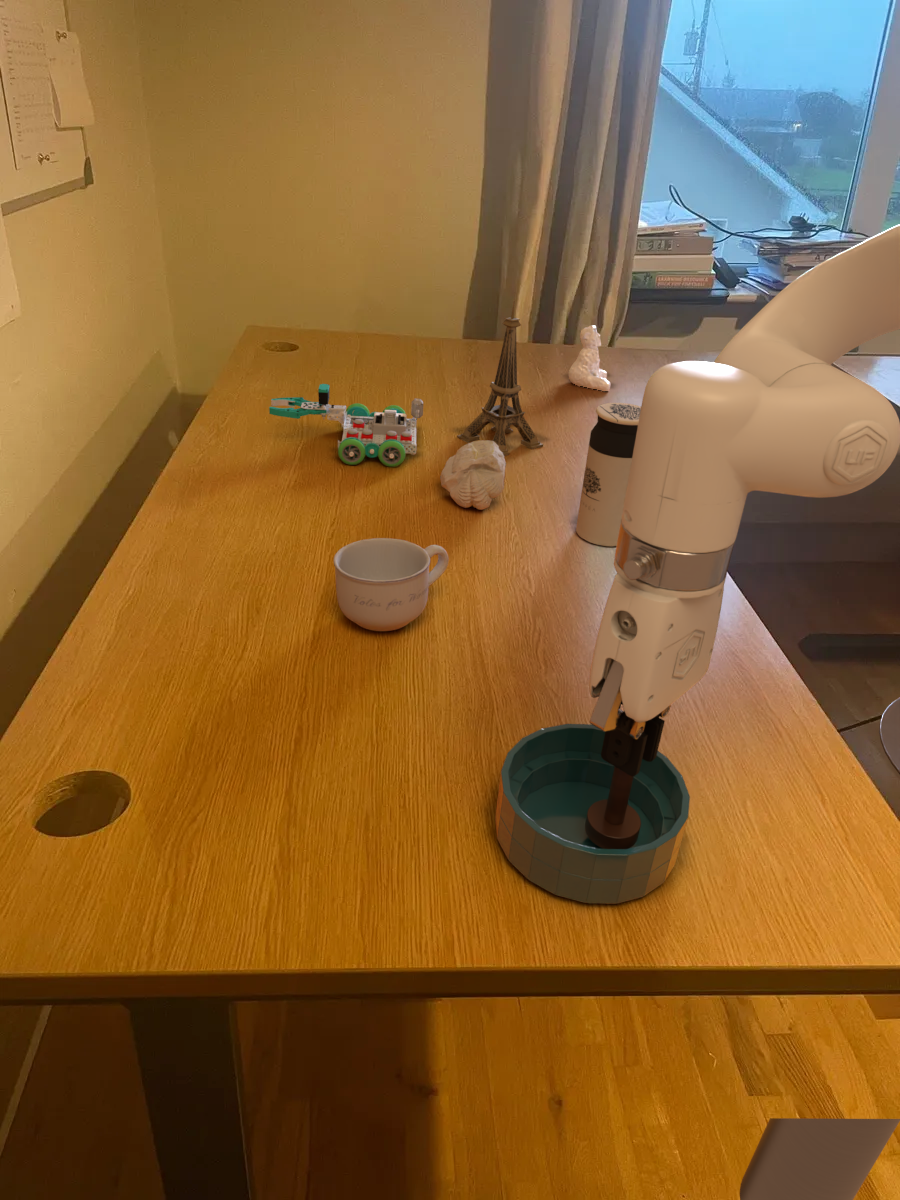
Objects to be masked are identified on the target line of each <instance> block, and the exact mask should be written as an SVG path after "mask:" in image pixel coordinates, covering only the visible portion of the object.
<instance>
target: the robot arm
mask: <svg viewBox="0 0 900 1200" xmlns="http://www.w3.org/2000/svg"><path fill="white" fill-rule="evenodd" d="M899 330H900V224H897V225H895V226H893V227H891V228H888V229H886V230H885V231H882V232H881V233H880V232H879V233H878V234H876V235H873V236H872V237H870V238H867V239H866V240H864V241H862V242H860V243H858V244H856V245H854V246H853V247H850V248H848V249H846V250H843V251H842V252H839V253H838V254H836V255H834V256H831V257H830V258H828V259H826V260H824V261H822V262H821V263H818V264H817V265H815V266H814V267H812V268H811V269H809V270H807V271H805V272H804V273H803V274H801V275H800V276H798V277H797V278H796V279H794V280H793V281H791V282H790V283H789V284H788V285H787V286H785V287H784V288H783V289H782V290H781V291H779V292H778V293H777V294H776V295H775V296H773V298H772V299H770V301H769V302H768V303H766V304H765V305H764V306H763V307H762V308H761V309H760V310H759V311H758V312H757V313H756V314H755V315H754V316H753V317H752V318H751V319H750V320H749V321H747V323H745V325H743V327H742V328H741V329H739V331H738V332H737V333H736V334H735V335H734V336H733V337H732V338H731V339H730V340H729V342H727V344H726V345H725V346H724V348H723V349H722V350H721V351H720V353H719V354H717V357H716V358H715V359H714V361H713V362H710V361H699V360H685V361H678V362H672V363H668V364H665V365H663V366H661V367H659V368H658V369H656V371H654V373H652V375H651V376H650V377H649V379H648V380H647V382H646V385H645V388H644V391H643V396H642V401H641V411H640V417H639V423H638V428H637V434H636V439H635V445H634V451H633V456H632V462H631V467H630V473H629V479H628V484H627V490H626V495H625V501H624V507H623V512H622V519H621V524H620V529H619V535H618V541H617V546H615V553H614V557H613V568H614V570H615V571H616V574H615V575H614V577H613V581H612V583H611V586H610V589H609V593H608V596H607V599H606V602H605V605H604V609H603V612H602V616H601V620H600V624H599V627H598V631H597V636H596V640H595V645H594V649H593V652H592V653H593V654H592V657H591V663H590V671H589V678H588V691H589V694H590V696H591V698H594V699H595V698H597V700H596V703H595V706H594V708H593V710H592V714H591V716H590V719H589V724H592V725H594V726H595V727H597V728H599V729H601V730H602V731H604V732H605V736H604V741H603V746H602V752H601V757H602V758H603V760H605V761H606V762H608V763H610V764H612V765H613V766H615V767H617V768H618V769H620V770H622V771H623V772H625V773H627V774H628V775H630V776H632V777H634V776H635V775H637V774H638V773H639V771H640V767H641V762H642V759H644V760H645V761H648V762H652V761H653V760H654V759H655V758H656V756H657V752H658V751H659V746H660V743H661V738H662V735H663V731H664V726H665V723H666V720H665V719H663V718H665V717H667V716H668V714H669V711H670V710H671V707H672V704H674V703H675V702H676V701H677V700H679V699H680V698H682V696H684V695H685V694H686V693H687V692H688V691H690V690H691V689H692V688H693V687H694V686H695V685H697V684H698V683H699V682H700V681H701V680H702V679H703V677H704V676H705V675H706V674H707V672H708V671H709V668H710V664H711V659H712V655H713V651H714V647H715V641H716V636H717V631H718V626H719V621H720V616H721V610H722V605H723V598H724V591H725V583H726V579H727V575H728V570H729V568H730V567H729V566H730V563H731V558H732V554H733V550H734V547H735V543H736V540H737V537H738V532H739V529H740V525H741V520H742V517H743V513H744V510H745V509H744V508H745V505H746V501H747V497H748V494H749V493H751V492H755V491H757V492H765V493H766V492H767V493H775V494H782V495H789V496H795V497H796V496H798V497H803V498H817V499H822V498H823V499H824V498H836V497H842V496H847V495H850V494H853V493H856V492H858V491H860V490H862V489H864V488H867V487H868V486H870V485H871V484H873V483H874V482H876V481H877V480H878V479H879V478H880V477H881V476H883V475H884V473H886V471H887V470H888V469H889V468H890V466H891V465H892V463H893V462H894V460H895V458H897V457H896V456H897V454H898V452H899V448H900V419H899V416H898V414H897V411H896V409H895V408H894V406H893V405H892V403H891V402H890V400H889V399H887V397H885V395H883V394H882V393H881V392H880V391H879V390H878V389H876V388H875V387H873V386H871V385H870V384H868V383H867V382H864V381H863V380H861V379H859V378H857V377H855V376H853V375H851V374H849V373H847V372H845V371H843V370H840V369H839V368H838V367H836V366H833V365H832V364H833V363H835V362H836V361H837V360H839V359H840V358H841V357H843V356H845V355H846V354H847V353H849V352H850V351H852V350H854V349H855V348H857V347H859V346H861V345H863V344H865V343H867V342H869V341H871V340H875V339H876V338H878V337H880V336H883V335H887V334H889V333H893V332H895V331H899ZM621 707H623V709H621ZM645 722H646V724H645ZM644 727H645V728H644ZM643 731H644V732H643Z"/></svg>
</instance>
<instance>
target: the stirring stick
mask: <svg viewBox="0 0 900 1200" xmlns="http://www.w3.org/2000/svg"><path fill="white" fill-rule="evenodd" d="M645 724H646V722H645ZM644 728H645V727H644ZM643 732H644V731H643ZM632 782H633V777H632V776H630V775H628V774H627V773H625V772H623V771H622V770H620V769H618V768H617V767H614V772H613V777H612V782H611V786H610V791H609V796H608V799H605V800H600V801H597V802H595V803H594V804H592V805H591V806H590V808H589V809H588V812H587V817H586V822H585V831H586V834H587V836H588V837H589V839H590V840H591V841H592V842H593V843H595V844H596V845H597V846H599V847H601V848H604V849H629V848H631V847H632V846H633V845H634V844H635V843H636V842H637V839H638V836H639V831H640V827H641V820H640V817H639V815H638V813H637V812H636V811H635V810H634V809H633V808H632V807H631V806H629V805H628V800H629V795H630V791H631V786H632Z"/></svg>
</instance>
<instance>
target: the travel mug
mask: <svg viewBox="0 0 900 1200" xmlns="http://www.w3.org/2000/svg"><path fill="white" fill-rule="evenodd" d="M641 406H642V405H641ZM641 406H640V405H637V404H633V403H628V402H627V403H625V402H606V403H602V404H600V405H598V406H596V409H595V413H596V415H597V422H596V423H595V425H594V426H593V428H591V430H590V436H589V442H588V448H587V453H586V455H587V456H586V462H585V466H584V467H585V468H584V473H583V480H582V487H581V493H580V501H579V505H578V506H579V507H578V513H577V519H576V525H575V526H576V527H575V532H576V534H577V535H578V536H579V537H580V538H581V539H583V540H585V541H586V542H588V543H590V544H593V545H597V546H601V547H602V546H603V547H616V546H617V541H618V535H619V529H620V524H621V519H622V512H623V507H624V501H625V495H626V490H627V484H628V479H629V473H630V467H631V462H632V456H633V451H634V445H635V439H636V434H637V428H638V423H639V417H640V411H641Z"/></svg>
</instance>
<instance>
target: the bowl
mask: <svg viewBox="0 0 900 1200" xmlns="http://www.w3.org/2000/svg"><path fill="white" fill-rule="evenodd" d="M604 736H605V732H604V731H602V730H601V729H599V728H597V727H595V726H594V725H592V724H590V723H589V724H588V723H563V724H558V725H553V726H547V727H542V728H540V729H538V730H536V731H533V732H531V733H530V734H528V735H526V736H524V737H521V738H520V739H519V740H518V742H516V744H515V745H514V746H513V747H512V748H511V749H509V751H508V752H507V753H506V756H505V758H504V762H503V763H502V764H503V765H502V766H501V767H502V768H501V770H500V776H499V785H498V792H497V801H496V809H495V816H494V821H495V829H496V831H495V833H496V838H497V842H498V843H499V845H500V848H501V849H502V851H503V853H504V854H505V857H506V858H507V860H508V862H509V863H510V864H511V865H512V866H514V867H515V869H516V870H518V871H519V872H520V874H522V875H523V876H524V878H526V879H527V880H528V881H529V882H531V883H533V884H535V885H537V886H539V888H541V889H544V890H546V891H547V892H549V893H551V894H552V895H555V896H559V897H562V898H565V899H568V900H573V901H577V902H580V903H584V904H611V905H612V904H613V905H614V904H617V905H618V904H621V903H626V902H629V901H633V900H636V899H637V900H638V899H639V898H643V897H645V896H646V895H648V894H650V893H651V892H653V891H654V890H656V889H657V888H658V887H660V886H661V885H663V884H664V883H665V881H666V880H667V878H668V877H669V875H670V873H671V872H672V870H673V868H674V867H675V866H676V863H677V859H678V855H679V851H680V848H681V845H682V841H683V837H684V834H685V830H686V827H687V823H688V820H689V816H690V815H689V813H690V802H691V796H690V793H689V791H688V787H687V785H686V782H685V779H684V776H683V775H682V773H681V772H680V771H679V770H678V769H677V768H676V766H675V765H674V764H673V763H672V761H671V760H670V758H668V757H667V756H666V755H665V754H663V753H662V752H660V750H658V752H657V756H656V758H655V759H654V760H653V761H652V762H648V761H645V760H644V759H642V762H641V767H640V771H639V773H638V774H637V775H635V776H634V777H633V782H632V786H631V791H630V795H629V800H628V805H629V806H631V807H632V808H633V809H634V810H635V811H636V812H637V813H638V815H639V817H640V820H641V827H640V831H639V836H638V839H637V842H636V843H635V844H634V845H633V846H632V847H631V848H629V849H604V848H601V847H599V846H597V845H596V844H595V843H593V842H592V841H591V840H590V839H589V837H588V836H587V834H586V831H585V822H586V817H587V812H588V809H589V808H590V806H591V805H592V804H594V803H595V802H597V801H600V800H605V799H608V796H609V791H610V786H611V782H612V777H613V772H614V767H615V766H613V765H612V764H610V763H608V762H606V761H605V760H603V758H602V757H601V752H602V746H603V741H604Z"/></svg>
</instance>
